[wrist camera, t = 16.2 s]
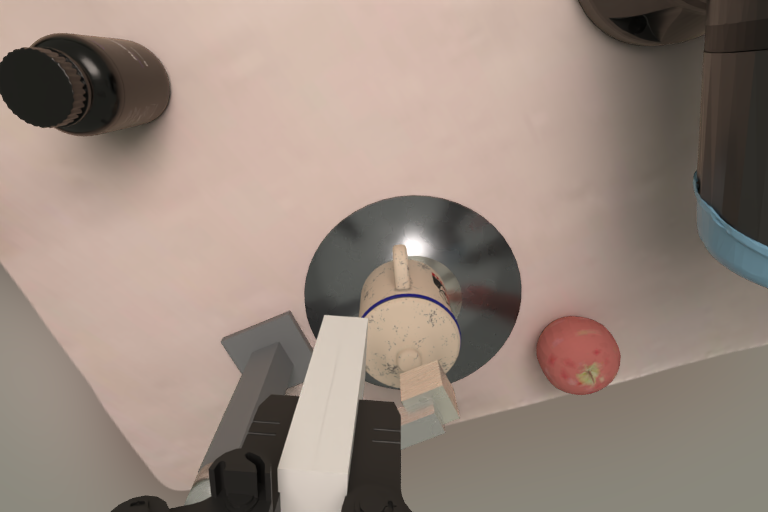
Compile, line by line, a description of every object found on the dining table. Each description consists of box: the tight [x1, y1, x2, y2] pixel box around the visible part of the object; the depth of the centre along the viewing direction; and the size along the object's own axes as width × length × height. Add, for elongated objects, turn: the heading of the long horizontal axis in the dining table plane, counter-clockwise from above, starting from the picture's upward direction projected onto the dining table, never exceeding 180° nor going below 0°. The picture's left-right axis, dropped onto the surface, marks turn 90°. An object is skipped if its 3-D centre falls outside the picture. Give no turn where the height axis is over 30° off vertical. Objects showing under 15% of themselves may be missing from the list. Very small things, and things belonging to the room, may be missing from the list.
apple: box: [537, 316, 621, 395], centre depth 46 cm, size 7×7×8 cm
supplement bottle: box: [0, 33, 170, 136], centre depth 35 cm, size 7×7×12 cm
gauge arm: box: [184, 359, 460, 506], centre depth 34 cm, size 20×4×5 cm, turn 116°
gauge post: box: [198, 311, 313, 473], centre depth 43 cm, size 8×8×17 cm
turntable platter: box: [305, 195, 521, 390], centre depth 48 cm, size 22×22×1 cm
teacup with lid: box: [359, 244, 461, 388], centre depth 42 cm, size 12×9×12 cm
